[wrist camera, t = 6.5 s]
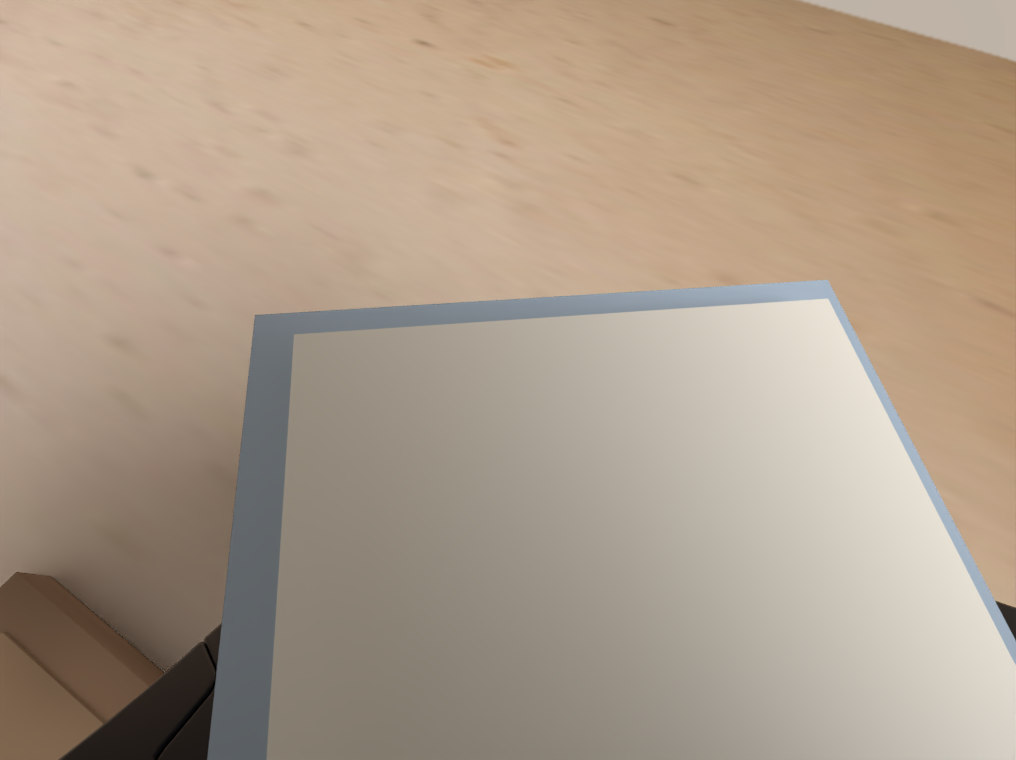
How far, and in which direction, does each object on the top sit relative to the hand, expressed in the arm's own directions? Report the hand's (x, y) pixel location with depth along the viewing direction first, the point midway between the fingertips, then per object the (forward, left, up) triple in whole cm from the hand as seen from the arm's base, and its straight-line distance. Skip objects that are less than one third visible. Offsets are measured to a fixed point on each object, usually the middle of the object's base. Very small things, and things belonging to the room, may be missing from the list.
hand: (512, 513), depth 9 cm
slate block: (-1, -1, -7) cm, 7 cm away
